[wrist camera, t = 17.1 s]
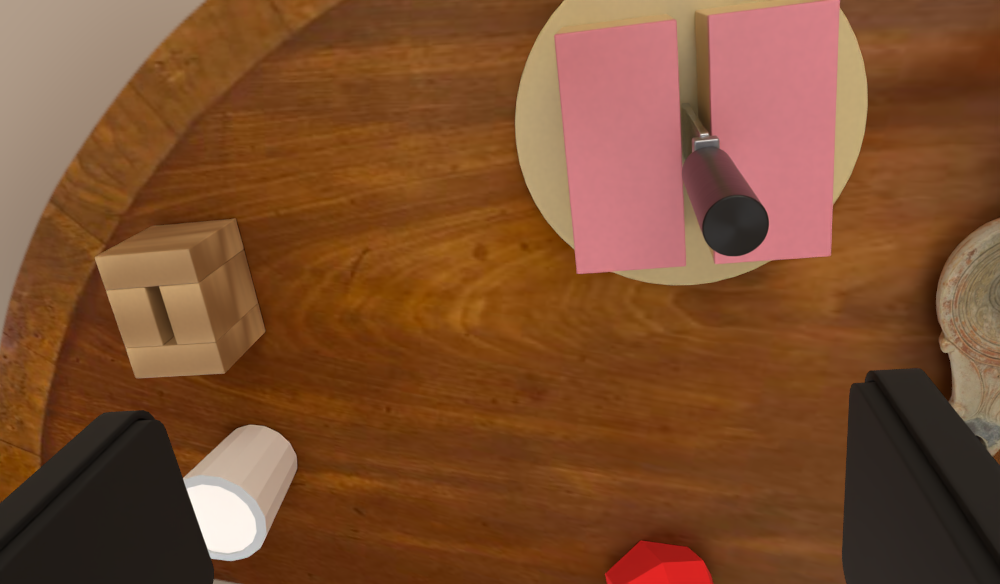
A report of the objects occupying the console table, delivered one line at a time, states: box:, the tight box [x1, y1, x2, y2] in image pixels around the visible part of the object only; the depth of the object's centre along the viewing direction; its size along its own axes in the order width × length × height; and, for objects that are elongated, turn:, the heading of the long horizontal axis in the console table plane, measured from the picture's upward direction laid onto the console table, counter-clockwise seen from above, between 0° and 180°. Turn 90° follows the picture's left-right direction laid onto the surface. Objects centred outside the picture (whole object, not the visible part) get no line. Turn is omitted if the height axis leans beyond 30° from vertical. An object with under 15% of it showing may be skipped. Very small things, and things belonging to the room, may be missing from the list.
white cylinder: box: [183, 425, 297, 561], centre depth 52 cm, size 7×7×7 cm
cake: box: [515, 0, 868, 285], centre depth 39 cm, size 19×19×7 cm
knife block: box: [95, 219, 265, 378], centre depth 47 cm, size 8×6×6 cm
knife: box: [682, 103, 769, 257], centre depth 34 cm, size 3×2×18 cm
